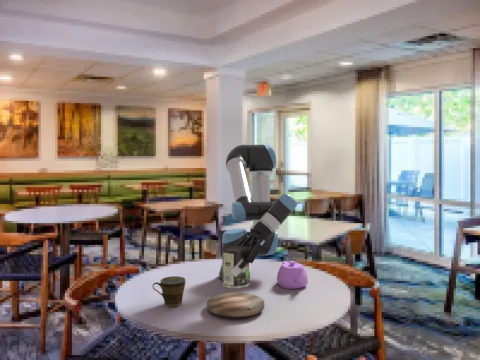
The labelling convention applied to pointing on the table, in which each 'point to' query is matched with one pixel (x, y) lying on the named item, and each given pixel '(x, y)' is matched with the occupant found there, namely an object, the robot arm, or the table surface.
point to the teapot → (292, 275)
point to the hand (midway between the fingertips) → (228, 270)
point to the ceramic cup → (172, 290)
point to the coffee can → (230, 261)
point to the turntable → (235, 304)
